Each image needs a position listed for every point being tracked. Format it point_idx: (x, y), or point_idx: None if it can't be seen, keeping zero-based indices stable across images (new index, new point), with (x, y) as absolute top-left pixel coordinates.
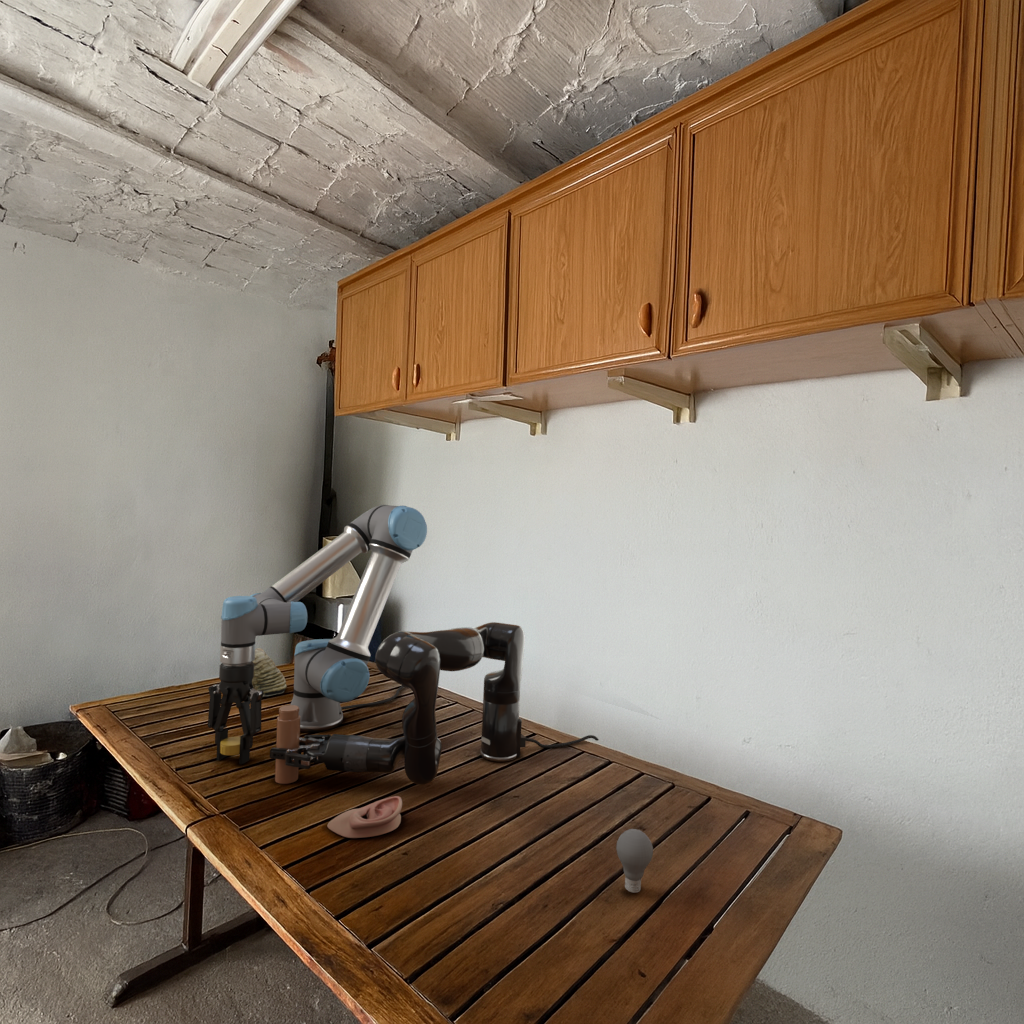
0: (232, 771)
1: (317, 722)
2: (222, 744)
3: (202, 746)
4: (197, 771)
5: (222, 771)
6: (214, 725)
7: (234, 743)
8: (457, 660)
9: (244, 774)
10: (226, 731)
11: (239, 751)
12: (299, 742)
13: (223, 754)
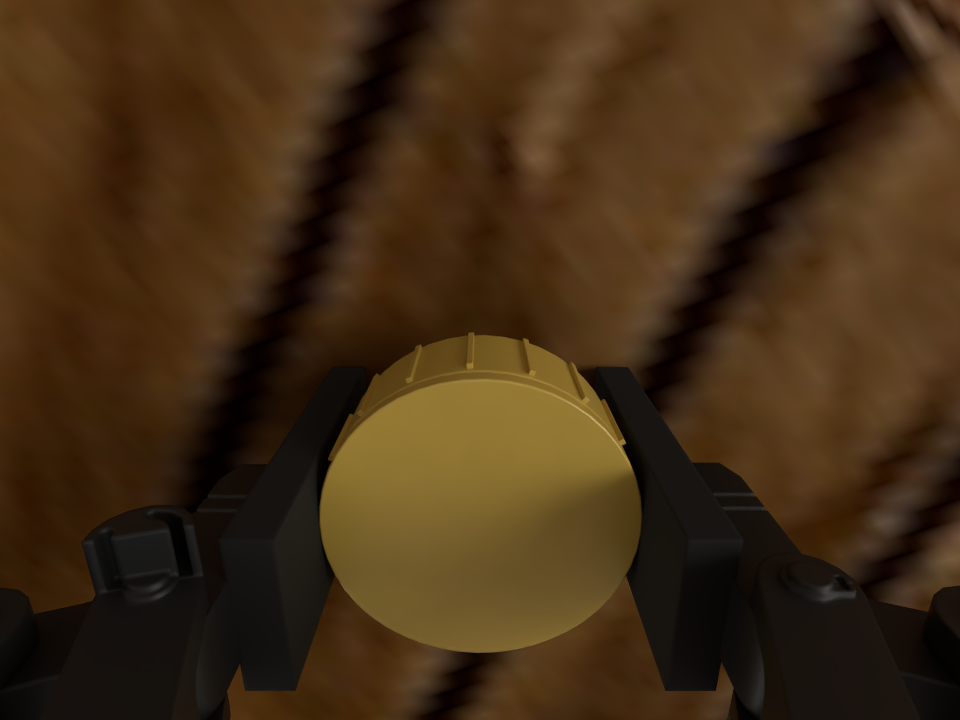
0: (307, 214)
1: None
2: (538, 387)
3: (933, 560)
4: (643, 79)
5: (399, 177)
6: (904, 651)
7: (408, 471)
8: None
9: (146, 197)
10: (663, 643)
11: (344, 427)
12: None
13: (502, 337)
